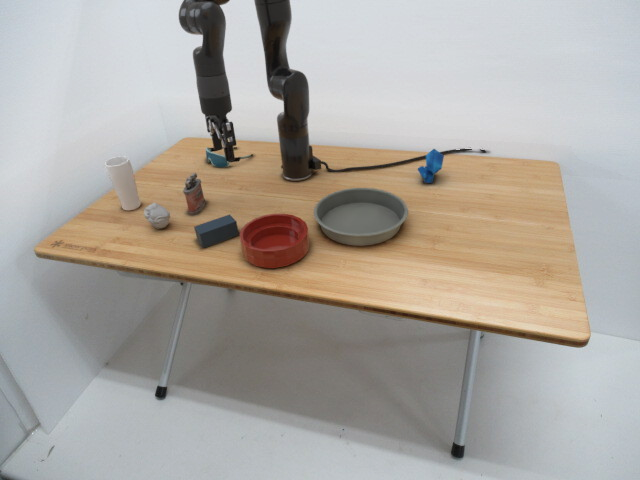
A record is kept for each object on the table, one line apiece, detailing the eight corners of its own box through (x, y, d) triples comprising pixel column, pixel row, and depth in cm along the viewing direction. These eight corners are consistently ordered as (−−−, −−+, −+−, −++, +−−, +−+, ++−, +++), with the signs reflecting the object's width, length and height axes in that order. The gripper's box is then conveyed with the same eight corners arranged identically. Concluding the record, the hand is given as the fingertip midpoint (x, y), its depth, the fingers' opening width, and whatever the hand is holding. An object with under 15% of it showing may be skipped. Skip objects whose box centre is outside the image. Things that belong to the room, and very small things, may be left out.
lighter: (197, 215, 133) (189, 184, 128) (186, 214, 134) (178, 183, 128) (208, 201, 140) (201, 171, 134) (197, 200, 140) (190, 170, 135)
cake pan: (420, 242, 116) (421, 226, 113) (323, 256, 113) (322, 241, 111) (391, 195, 136) (392, 181, 133) (308, 207, 133) (307, 193, 131)
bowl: (289, 224, 126) (287, 207, 123) (321, 253, 114) (320, 234, 111) (232, 245, 119) (229, 227, 116) (261, 278, 108) (257, 259, 104)
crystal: (417, 167, 135) (419, 142, 143) (416, 189, 141) (418, 164, 149) (443, 168, 134) (444, 143, 141) (441, 190, 140) (442, 165, 148)
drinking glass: (148, 203, 141) (134, 157, 133) (132, 214, 136) (116, 167, 128) (131, 199, 144) (116, 154, 135) (115, 210, 139) (98, 164, 130)
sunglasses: (198, 159, 165) (197, 146, 163) (234, 152, 174) (233, 138, 172) (220, 171, 156) (219, 156, 154) (256, 162, 165) (256, 148, 163)
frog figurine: (158, 219, 133) (151, 198, 129) (178, 223, 130) (172, 201, 126) (143, 230, 128) (136, 208, 124) (164, 234, 126) (157, 212, 122)
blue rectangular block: (232, 228, 127) (229, 214, 124) (239, 235, 123) (236, 221, 121) (197, 240, 122) (193, 226, 120) (203, 248, 119) (199, 234, 117)
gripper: (239, 96, 109) (248, 160, 118) (218, 83, 119) (227, 143, 128) (209, 102, 106) (220, 167, 115) (189, 88, 116) (201, 149, 125)
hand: (224, 154), depth 122 cm, fingers open, 8 cm apart
